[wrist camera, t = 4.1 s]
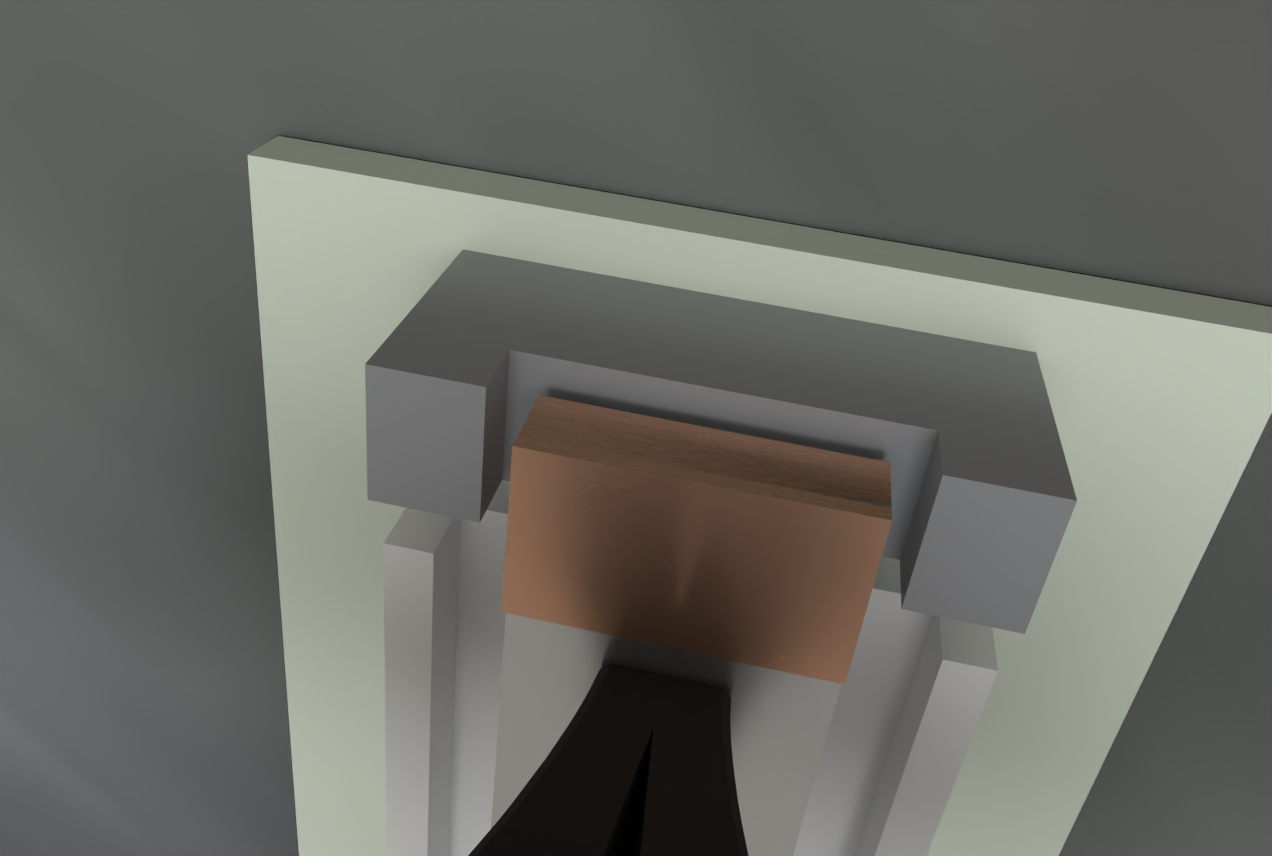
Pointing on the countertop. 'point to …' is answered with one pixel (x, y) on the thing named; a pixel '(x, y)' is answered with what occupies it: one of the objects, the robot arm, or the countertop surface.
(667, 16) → the countertop surface
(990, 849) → the board
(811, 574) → the strip
